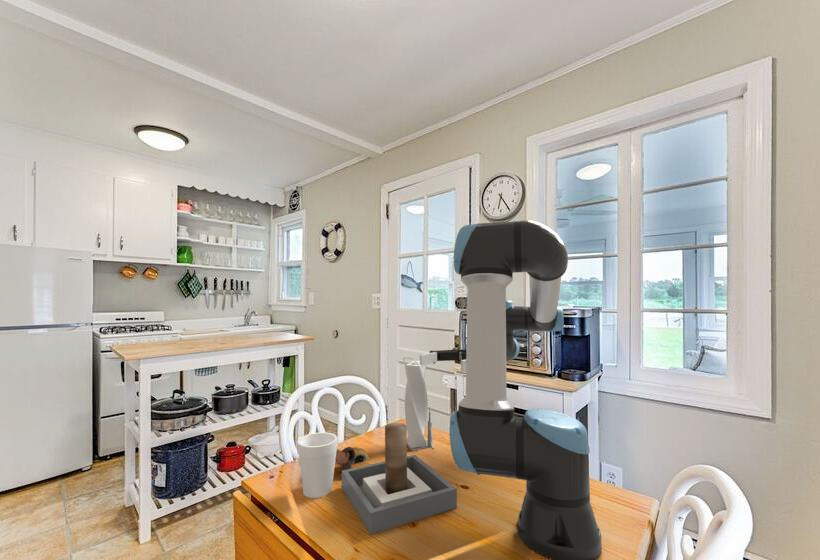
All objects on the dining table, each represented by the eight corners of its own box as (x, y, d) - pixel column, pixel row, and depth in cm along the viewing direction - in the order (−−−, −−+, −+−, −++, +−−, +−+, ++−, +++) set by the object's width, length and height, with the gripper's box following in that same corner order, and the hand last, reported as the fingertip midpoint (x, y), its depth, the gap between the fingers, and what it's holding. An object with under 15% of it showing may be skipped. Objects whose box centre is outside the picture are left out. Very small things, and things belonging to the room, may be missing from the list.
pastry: (338, 456, 111) (338, 443, 111) (359, 452, 114) (359, 439, 114) (348, 469, 103) (348, 455, 103) (371, 464, 106) (371, 450, 106)
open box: (456, 512, 82) (456, 488, 82) (370, 539, 73) (370, 513, 73) (414, 473, 99) (414, 454, 100) (341, 491, 91) (341, 470, 91)
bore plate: (431, 503, 83) (431, 489, 84) (381, 517, 78) (381, 503, 78) (408, 479, 94) (407, 467, 94) (362, 491, 89) (362, 478, 89)
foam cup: (290, 494, 90) (290, 439, 90) (324, 481, 96) (324, 429, 96) (309, 510, 83) (309, 450, 83) (344, 495, 89) (345, 439, 90)
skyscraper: (407, 452, 113) (407, 359, 114) (400, 442, 120) (400, 355, 122) (434, 449, 115) (433, 357, 116) (425, 439, 123) (424, 354, 124)
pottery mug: (338, 492, 91) (321, 461, 92) (317, 497, 97) (302, 468, 98) (369, 461, 101) (354, 434, 102) (349, 468, 107) (334, 442, 107)
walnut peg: (411, 499, 85) (410, 428, 86) (390, 505, 83) (390, 431, 83) (401, 489, 90) (400, 421, 90) (382, 494, 87) (381, 425, 88)
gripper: (524, 371, 103) (482, 385, 87) (451, 361, 120) (405, 371, 105) (523, 344, 103) (481, 353, 88) (451, 337, 120) (405, 344, 105)
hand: (440, 363), depth 96 cm, fingers open, 13 cm apart
